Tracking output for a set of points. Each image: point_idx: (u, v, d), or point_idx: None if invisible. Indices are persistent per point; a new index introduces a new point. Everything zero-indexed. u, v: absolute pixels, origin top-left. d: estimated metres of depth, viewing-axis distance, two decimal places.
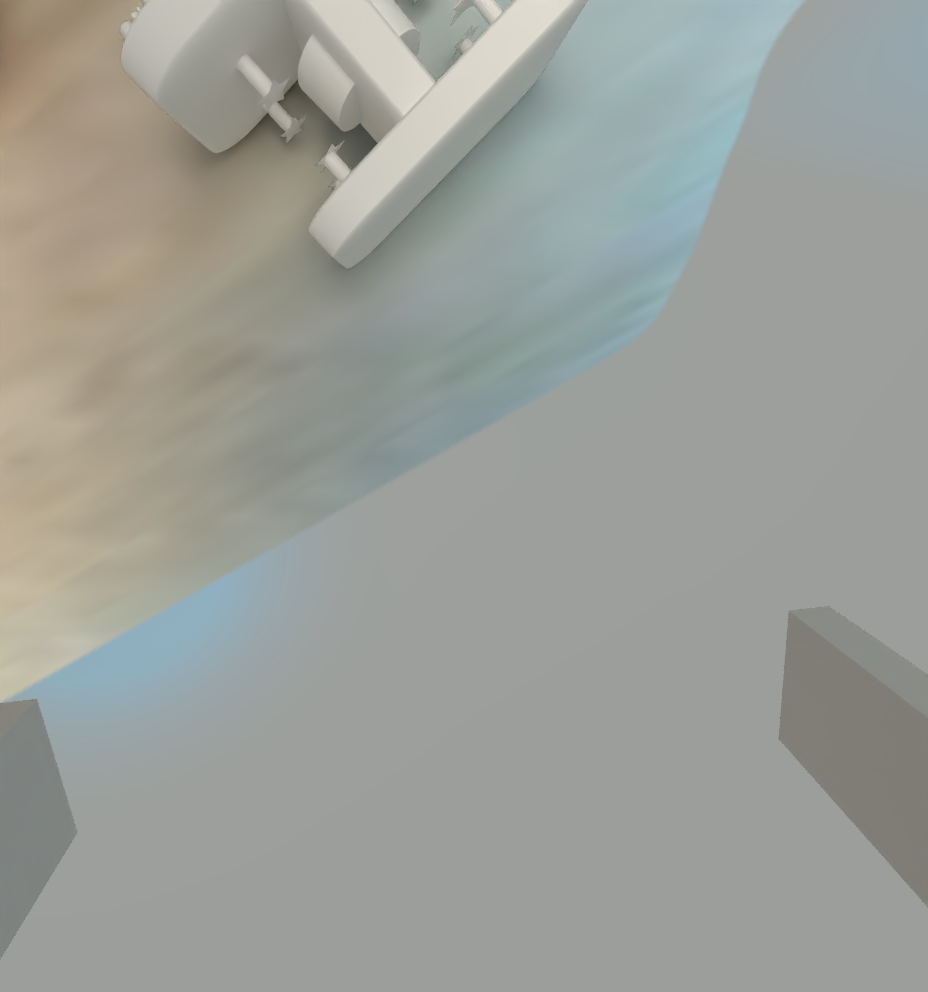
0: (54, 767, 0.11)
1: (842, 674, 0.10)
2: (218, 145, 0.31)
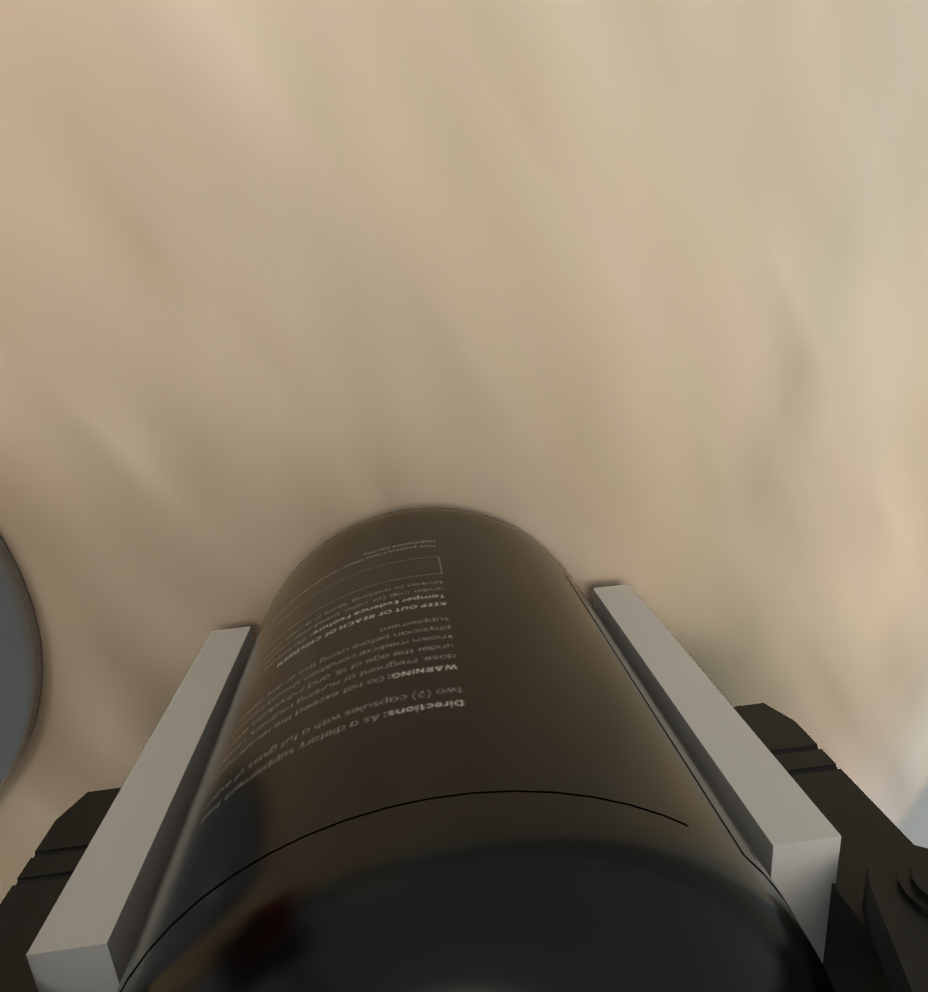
0: None
1: (616, 641, 0.12)
2: None
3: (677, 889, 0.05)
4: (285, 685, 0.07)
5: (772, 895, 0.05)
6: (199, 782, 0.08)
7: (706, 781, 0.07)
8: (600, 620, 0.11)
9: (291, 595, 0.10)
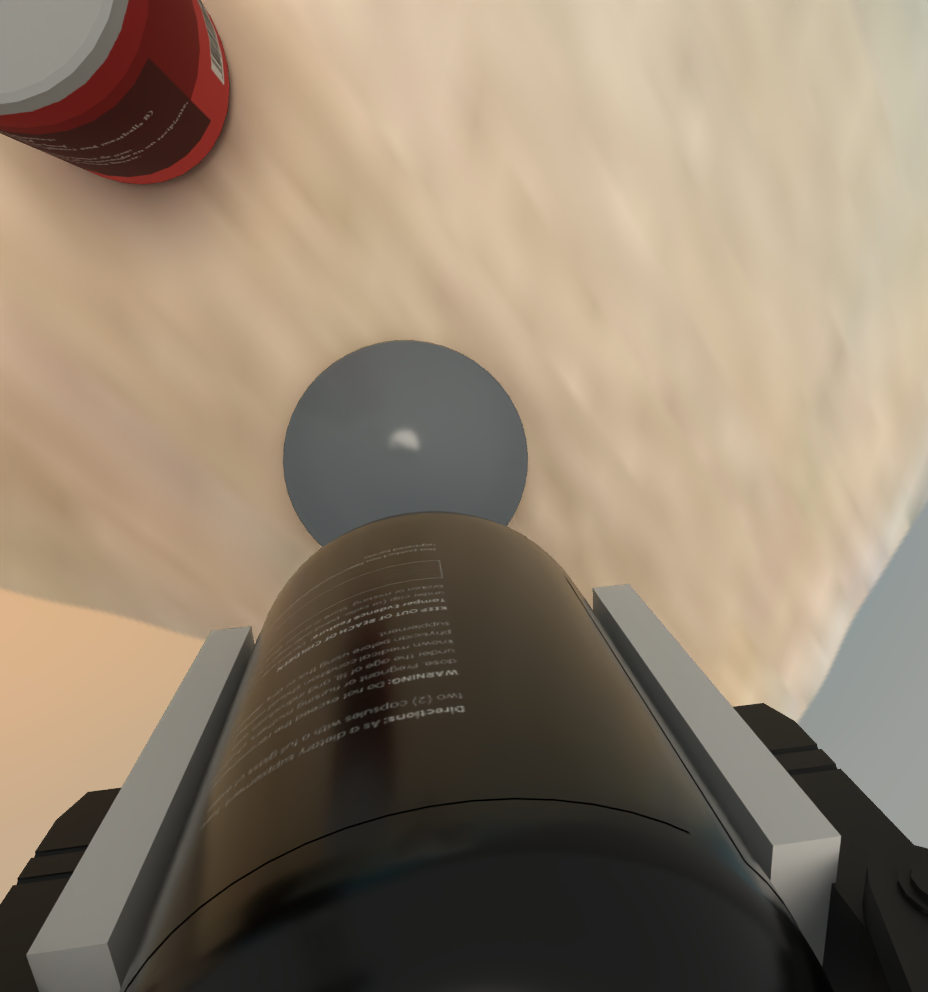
0: None
1: (616, 641, 0.12)
2: None
3: (679, 896, 0.05)
4: (286, 691, 0.07)
5: (774, 902, 0.05)
6: (199, 787, 0.08)
7: (707, 786, 0.07)
8: None
9: (291, 598, 0.10)
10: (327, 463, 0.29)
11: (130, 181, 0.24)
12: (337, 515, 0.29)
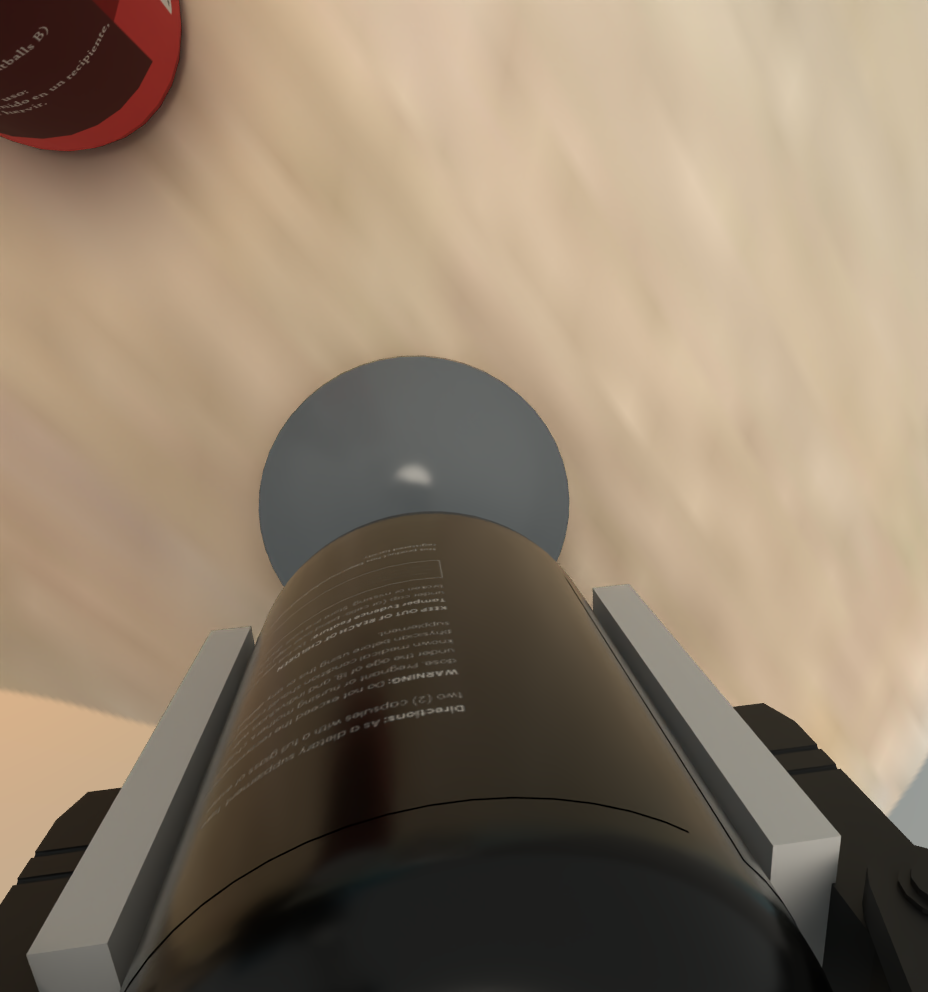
0: None
1: (616, 641, 0.12)
2: None
3: (677, 895, 0.05)
4: (285, 690, 0.07)
5: (773, 901, 0.05)
6: None
7: (706, 786, 0.07)
8: (600, 623, 0.11)
9: (291, 598, 0.10)
10: (315, 512, 0.23)
11: (48, 146, 0.18)
12: None
